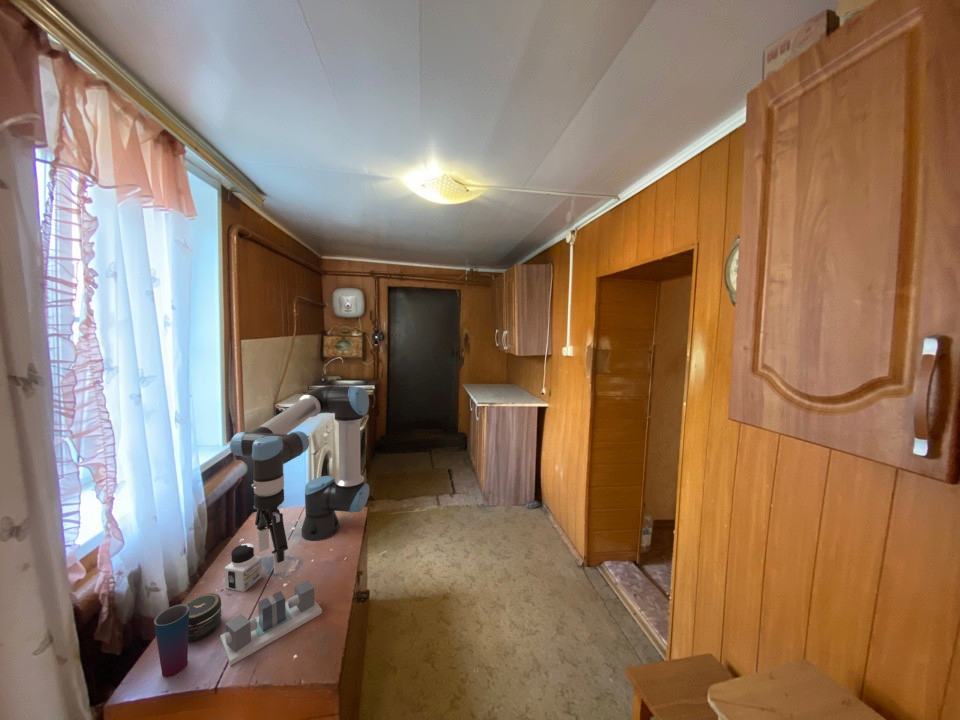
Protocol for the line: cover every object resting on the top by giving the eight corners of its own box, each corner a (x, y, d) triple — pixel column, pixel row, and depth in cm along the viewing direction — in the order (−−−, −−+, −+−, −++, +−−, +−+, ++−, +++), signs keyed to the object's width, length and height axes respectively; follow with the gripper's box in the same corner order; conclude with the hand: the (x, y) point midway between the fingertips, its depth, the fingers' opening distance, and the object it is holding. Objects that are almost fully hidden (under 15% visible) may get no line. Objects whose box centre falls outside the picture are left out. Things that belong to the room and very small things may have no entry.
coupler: (263, 632, 101) (262, 609, 101) (258, 623, 104) (258, 601, 104) (285, 619, 106) (285, 597, 105) (281, 612, 109) (280, 590, 108)
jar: (225, 628, 104) (224, 604, 104) (182, 651, 97) (180, 625, 96) (217, 610, 111) (216, 587, 110) (176, 629, 103) (174, 605, 103)
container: (244, 592, 118) (242, 556, 117) (224, 588, 120) (223, 552, 119) (262, 576, 126) (261, 542, 125) (244, 573, 127) (242, 539, 126)
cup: (196, 664, 93) (193, 611, 92) (163, 686, 87) (160, 630, 86) (185, 651, 97) (182, 600, 95) (152, 672, 91) (149, 617, 89)
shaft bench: (307, 594, 118) (307, 573, 117) (321, 613, 110) (321, 590, 110) (220, 640, 100) (219, 615, 100) (230, 665, 93) (229, 639, 92)
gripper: (241, 481, 108) (244, 547, 110) (269, 511, 91) (271, 588, 93) (269, 474, 113) (271, 536, 115) (299, 501, 96) (301, 574, 98)
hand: (271, 560), depth 104 cm, fingers open, 13 cm apart
